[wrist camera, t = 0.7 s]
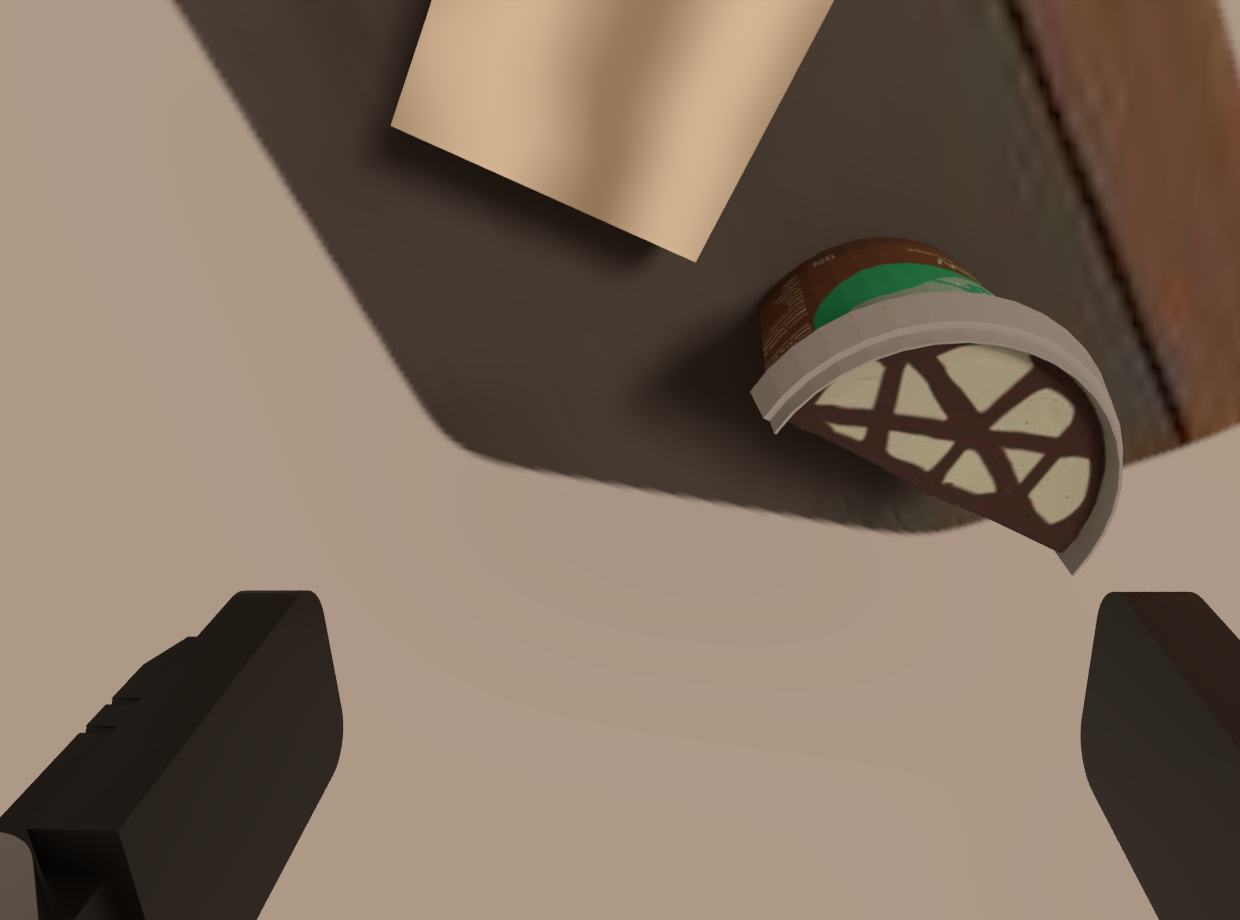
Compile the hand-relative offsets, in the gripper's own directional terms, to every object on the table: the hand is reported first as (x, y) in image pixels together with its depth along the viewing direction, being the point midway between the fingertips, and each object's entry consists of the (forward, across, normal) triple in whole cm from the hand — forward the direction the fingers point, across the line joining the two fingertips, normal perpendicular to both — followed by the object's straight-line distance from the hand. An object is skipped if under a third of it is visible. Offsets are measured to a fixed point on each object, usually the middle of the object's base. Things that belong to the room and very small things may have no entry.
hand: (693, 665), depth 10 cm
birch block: (+26, +3, -8) cm, 27 cm away
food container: (+28, -8, +3) cm, 30 cm away
